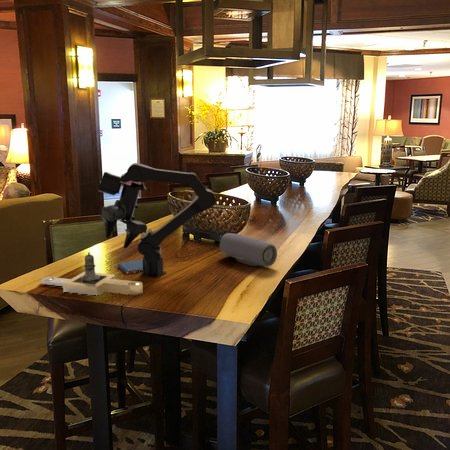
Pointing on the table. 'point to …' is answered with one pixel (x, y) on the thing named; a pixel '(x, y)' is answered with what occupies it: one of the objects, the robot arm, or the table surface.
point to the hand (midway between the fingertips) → (116, 243)
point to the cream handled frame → (60, 283)
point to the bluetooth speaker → (248, 250)
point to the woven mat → (131, 266)
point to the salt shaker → (90, 271)
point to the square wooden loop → (106, 284)
